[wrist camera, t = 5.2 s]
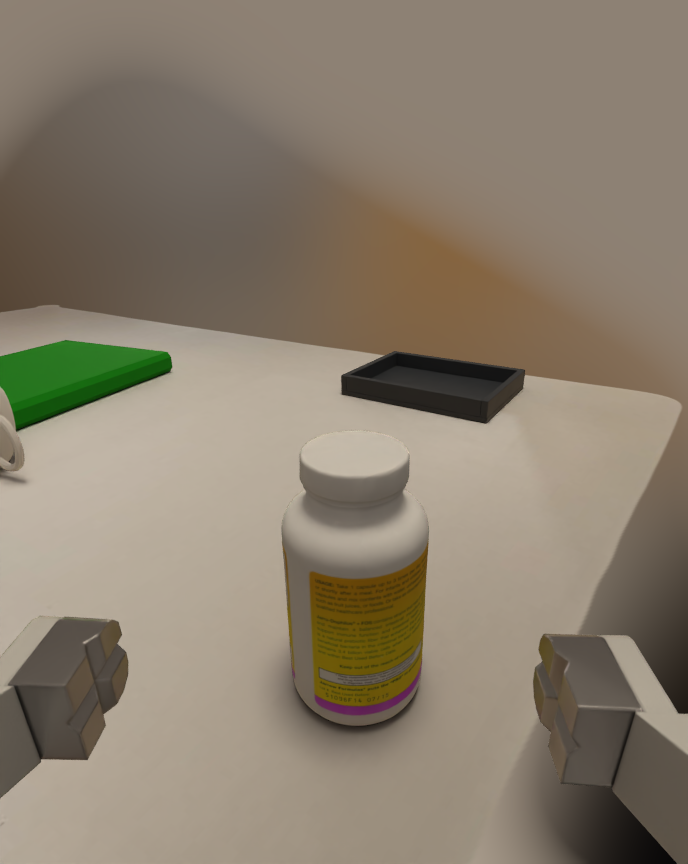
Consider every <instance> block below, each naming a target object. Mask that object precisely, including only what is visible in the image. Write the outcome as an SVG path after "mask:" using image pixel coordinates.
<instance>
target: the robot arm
mask: <svg viewBox="0 0 688 864" xmlns="http://www.w3.org/2000/svg"><path fill="white" fill-rule="evenodd" d="M121 636H122V633H121V629H120V626H119V622H118V621H115V620H111V619H94V618H78V617H52V616H39V617H37V618H35V619H33V620H31V622H30V623H29V624H28V625H27V626H26V627H25V629H24V630H23V631H22V632H21V633H20V634H19V636H18V637H17V638H16V639H15V640H14V641H13V643H12V644H11V645H10V646H9V647H8V649H7V650H6V651H5V652H4V653H3V654H2V656H1V657H0V798H1V797H2V796H3V795H4V794H6V793H7V792H8V791H9V790H10V789H11V788H12V787H14V786H15V785H16V784H17V783H18V782H19V781H20V780H21V779H23V778H24V777H25V776H26V775H27V774H28V773H29V772H30V771H32V770H33V769H34V768H35V767H36V766H37V765H38V764H39V763H41V759H61V760H88V758H89V756H90V754H91V752H92V751H93V749H94V747H95V745H96V743H97V741H98V739H99V737H100V736H101V734H102V732H103V730H104V728H105V726H106V724H105V720H104V715H103V714H105V713H106V712H107V711H109V710H110V709H111V708H112V707H114V706H115V705H116V704H117V703H118V701H119V699H120V697H121V695H122V693H123V691H124V688H125V684H126V680H127V677H128V658H127V654H126V652H125V651H124V650H123V649H122V648H121V647H120V646H119V645H118V644H117V643H118V641H119V639H120V637H121ZM539 652H540V655H541V658H542V662H541V663H540V664H539V665H538V666H536V667H535V672H534V679H533V687H534V699H535V704H536V709H537V713H538V716H539V719H540V722H541V723H542V724H543V725H544V726H545V727H546V728H547V729H548V730H549V731H550V732H551V734H550V739H549V745H548V747H549V750H550V753H551V756H552V759H553V762H554V765H555V768H556V771H557V774H558V777H559V780H560V783H561V784H574V785H586V786H599V787H612V791H613V792H614V793H615V794H616V795H617V797H619V799H620V800H621V801H622V802H623V803H624V804H625V806H626V807H627V808H628V809H629V810H630V811H631V812H632V813H633V814H634V816H635V817H636V818H637V819H638V820H639V821H640V822H641V823H642V824H643V826H644V827H645V828H646V829H647V830H648V831H649V832H650V833H651V835H652V836H653V837H654V838H655V839H656V840H657V841H658V842H659V843H660V845H661V846H662V847H663V848H664V849H665V850H666V851H667V852H668V854H669V855H670V856H671V857H672V858H673V859H674V860H675V861H676V863H677V864H688V714H678V712H677V711H676V709H675V707H674V706H673V704H672V703H671V701H670V699H669V698H668V696H667V694H666V693H665V691H664V690H663V688H662V686H661V685H660V683H659V681H658V680H657V678H656V676H655V675H654V673H653V672H652V670H651V668H650V667H649V665H648V664H647V662H646V660H645V659H644V657H643V656H642V654H641V652H640V651H639V649H638V647H637V646H636V644H635V642H634V641H633V640H632V639H631V638H629V636H616V635H599V636H597V635H568V634H543V636H542V638H541V640H540V645H539Z"/></svg>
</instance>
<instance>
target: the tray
mask: <svg viewBox="0 0 688 864" xmlns="http://www.w3.org/2000/svg"><path fill="white" fill-rule="evenodd" d="M524 376H525V370H523V369H516V368H509V367H502V366H494V365H488V364H481V363H473V362H467V361H460V360H453V359H445V358H439V357H432V356H424V355H418V354H411V353H404V352H397V351H394V352H392V353H389V354H387V355H385V356H383V357H381V358H378V359H376V360H374V361H372V362H370V363H367V364H365V365H363V366H361V367H359V368H356V369H354V370H352V371H350V372H348V373H345V374H343V375H341V382H342V394H344V395H349V396H354V397H359V398H364V399H369V400H374V401H379V402H384V403H389V404H393V405H398V406H403V407H408V408H413V409H418V410H423V411H428V412H433V413H438V414H443V415H448V416H453V417H458V418H463V419H468V420H472V421H477V422H482V423H487V422H488V421H489V420H490V419H491V418H492V417H493V416H494V415H495V414H496V413H497V412H499V411H500V410H501V409H502V408H503V407H504V406H505V405H506V404H507V403H508V402H509V401H510V400H511V399H512V398H513V397H514V396H515V395H516V394H517V393H518V392H519V391H521V390H522V389H523V384H524Z"/></svg>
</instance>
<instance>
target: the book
mask: <svg viewBox="0 0 688 864" xmlns="http://www.w3.org/2000/svg"><path fill="white" fill-rule="evenodd" d="M171 368H172V362H171V357H170V355H169V354H168V352H163V351H154V350H146V349H137V348H128V347H120V346H111V345H102V344H94V343H85V342H77V341H68V340H65V341H61V342H57V343H53V344H49V345H45V346H41V347H36V348H32V349H28V350H24V351H20V352H16V353H12V354H8V355H4V356H0V387H1V388H2V389H3V390H4V392H5V394H6V396H7V398H8V400H9V403H10V406H11V409H12V412H13V416H14V420H15V427H16V430H17V429H20V428H23V427H25V426H28V425H30V424H33V423H36V422H38V421H41V420H43V419H46V418H49V417H51V416H54V415H57V414H59V413H62V412H64V411H67V410H70V409H72V408H75V407H78V406H80V405H83V404H85V403H88V402H91V401H93V400H96V399H98V398H101V397H104V396H106V395H109V394H112V393H114V392H117V391H119V390H122V389H125V388H127V387H130V386H132V385H135V384H138V383H140V382H143V381H146V380H148V379H151V378H153V377H156V376H159V375H161V374H164V373H167V372H169V371H170V370H171Z"/></svg>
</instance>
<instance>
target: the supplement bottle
mask: <svg viewBox="0 0 688 864" xmlns="http://www.w3.org/2000/svg"><path fill="white" fill-rule="evenodd" d="M408 478H409V451H408V449H407V447H406V446H405V445H404V444H403V443H402V442H401V441H399V440H397V439H396V438H393V437H391V436H388V435H385V434H381V433H376V432H371V431H358V430H351V431H339V432H332V433H328V434H324V435H321V436H318V437H316V438H314V439H312V440H310V441H309V442H307V443H306V444H305V445H304V446H303V447H302V449H301V451H300V480H301V482H302V484H303V487H304V490H303V491H301V492H300V493H299V494H298V495H297V496H296V497H295V498H294V499H293V500H292V501H291V502H290V504H289V505H288V507H287V509H286V511H285V513H284V516H283V520H282V545H283V557H284V569H285V582H286V596H287V610H288V624H289V637H290V652H291V665H292V673H293V679H294V683H295V686H296V689H297V691H298V693H299V695H300V696H301V698H302V699H303V701H304V702H305V703H306V704H307V705H308V706H309V707H310V708H311V709H312V710H313V711H314V712H316V713H317V714H319V715H320V716H322V717H324V718H325V719H328V720H330V721H333V722H336V723H339V724H344V725H352V726H362V725H370V724H375V723H378V722H381V721H384V720H387V719H389V718H391V717H393V716H394V715H396V714H397V713H398V712H400V711H401V710H402V709H403V708H404V707H405V706H406V705H407V704H408V703H409V702H410V700H411V699H412V698H413V696H414V694H415V692H416V690H417V688H418V685H419V681H420V676H421V665H422V646H423V629H424V607H425V587H426V570H427V555H428V536H429V526H428V519H427V516H426V513H425V511H424V509H423V507H422V506H421V504H420V503H419V501H418V500H417V499H416V498H415V497H414V496H413V495H412V494H411V493H410V492H408V491H407V490H405V489H404V488H405V486H406V483H407V482H408Z"/></svg>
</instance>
